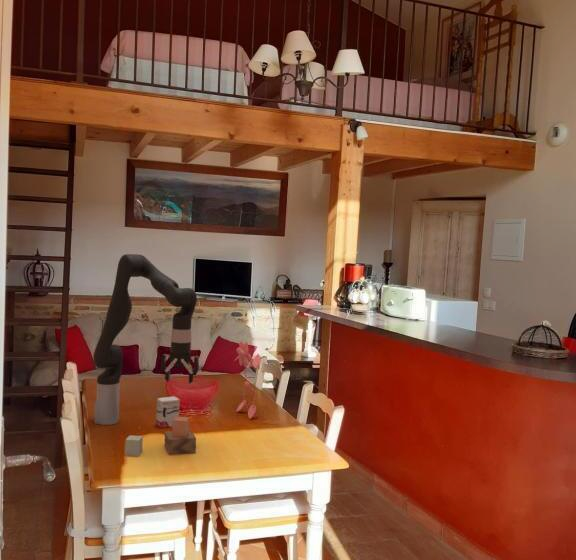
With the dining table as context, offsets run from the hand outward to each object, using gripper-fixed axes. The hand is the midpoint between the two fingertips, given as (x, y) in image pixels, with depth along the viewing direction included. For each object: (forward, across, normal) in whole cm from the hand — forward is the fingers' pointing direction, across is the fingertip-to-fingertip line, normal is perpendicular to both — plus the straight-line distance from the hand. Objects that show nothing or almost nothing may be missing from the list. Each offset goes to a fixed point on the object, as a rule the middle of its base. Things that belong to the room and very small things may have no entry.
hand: (179, 382), depth 236 cm
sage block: (+25, -13, -11) cm, 31 cm away
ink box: (+26, -10, +25) cm, 37 cm away
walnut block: (+25, +2, -4) cm, 26 cm away
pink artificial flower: (+25, +19, +45) cm, 55 cm away
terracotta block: (+19, +2, -3) cm, 20 cm away
